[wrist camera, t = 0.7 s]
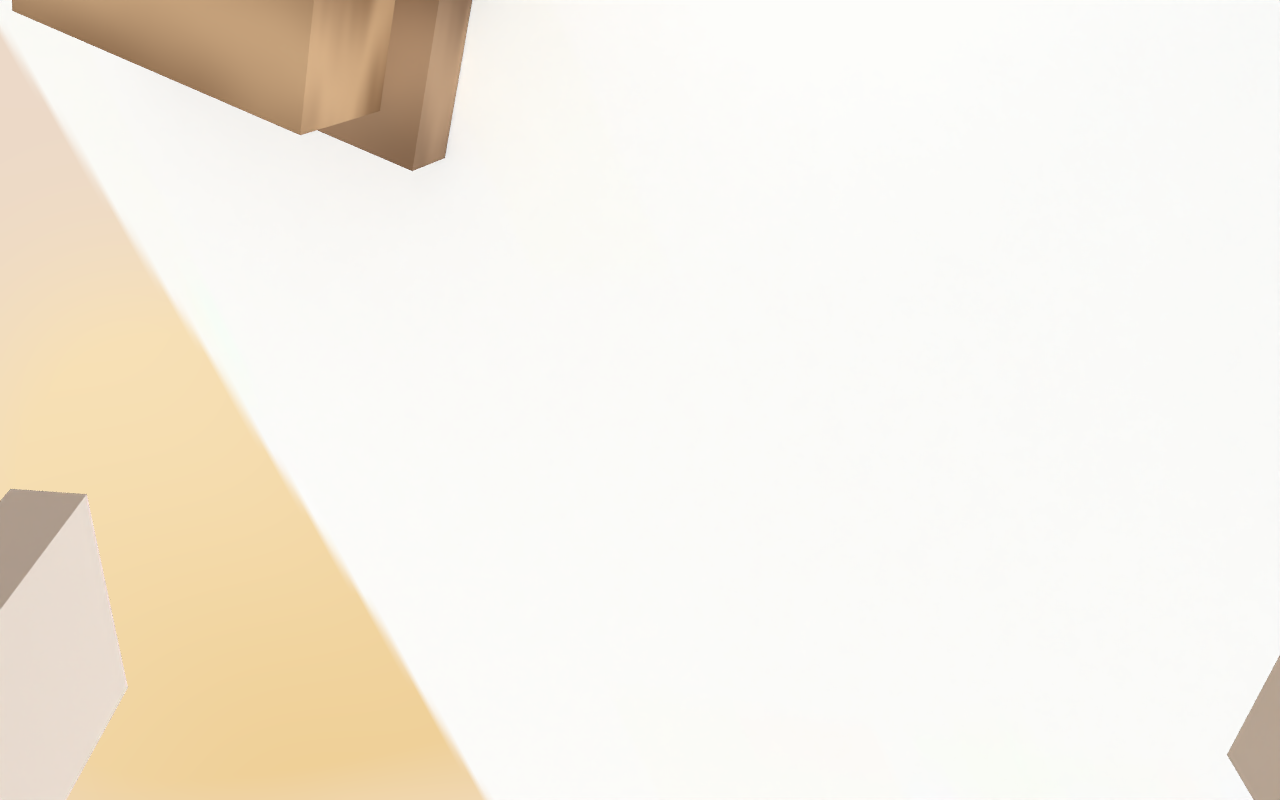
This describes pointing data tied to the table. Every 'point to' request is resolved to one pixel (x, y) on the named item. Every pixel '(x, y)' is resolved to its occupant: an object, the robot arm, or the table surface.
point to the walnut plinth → (296, 60)
